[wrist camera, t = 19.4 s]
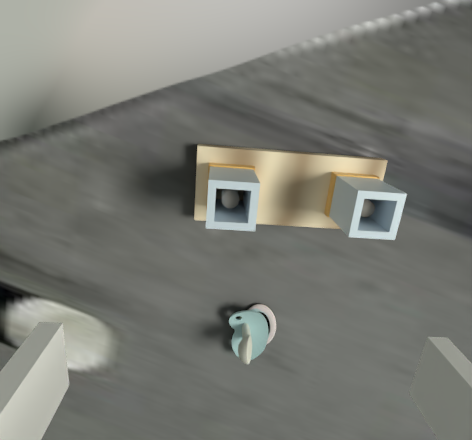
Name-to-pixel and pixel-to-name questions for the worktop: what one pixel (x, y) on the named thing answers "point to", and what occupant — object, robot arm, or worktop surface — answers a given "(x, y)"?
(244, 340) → the pacifier
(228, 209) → the sleeve
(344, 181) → the sleeve
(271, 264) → the worktop surface
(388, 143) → the worktop surface
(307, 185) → the pin board
